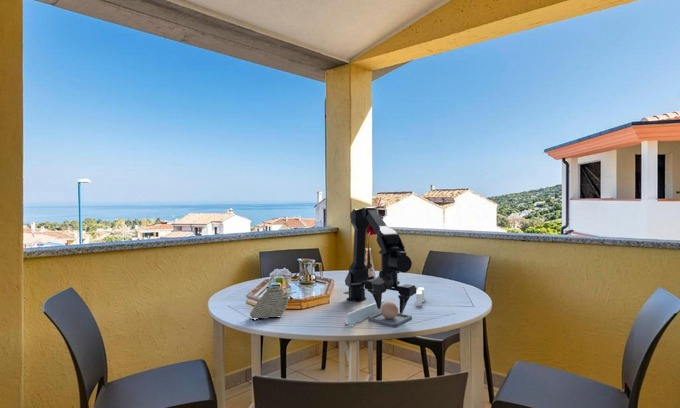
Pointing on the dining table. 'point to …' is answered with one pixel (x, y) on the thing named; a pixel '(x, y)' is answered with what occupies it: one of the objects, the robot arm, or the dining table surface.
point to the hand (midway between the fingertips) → (390, 311)
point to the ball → (389, 310)
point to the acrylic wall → (363, 313)
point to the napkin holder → (419, 296)
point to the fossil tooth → (270, 304)
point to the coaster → (391, 322)
